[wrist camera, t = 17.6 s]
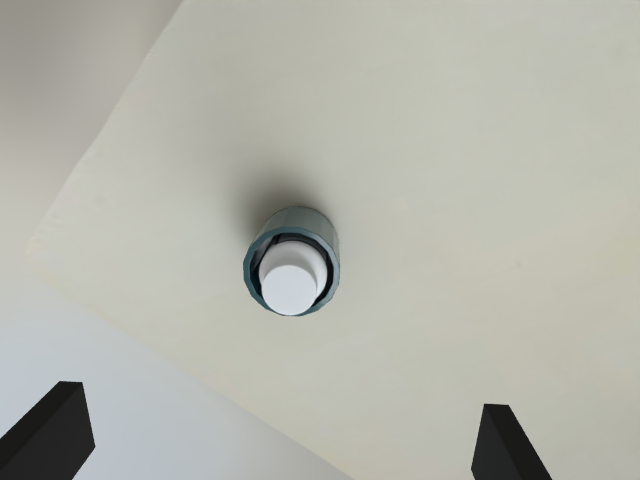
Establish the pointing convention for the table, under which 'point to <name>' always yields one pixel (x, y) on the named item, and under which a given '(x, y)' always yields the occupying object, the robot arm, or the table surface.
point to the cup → (302, 223)
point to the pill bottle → (293, 273)
